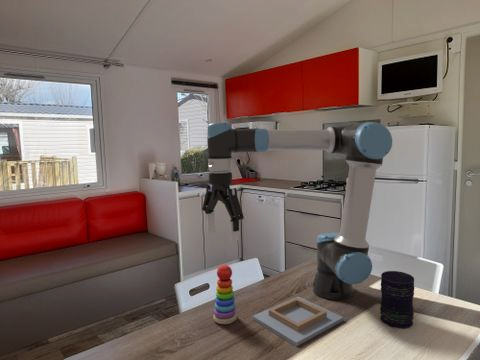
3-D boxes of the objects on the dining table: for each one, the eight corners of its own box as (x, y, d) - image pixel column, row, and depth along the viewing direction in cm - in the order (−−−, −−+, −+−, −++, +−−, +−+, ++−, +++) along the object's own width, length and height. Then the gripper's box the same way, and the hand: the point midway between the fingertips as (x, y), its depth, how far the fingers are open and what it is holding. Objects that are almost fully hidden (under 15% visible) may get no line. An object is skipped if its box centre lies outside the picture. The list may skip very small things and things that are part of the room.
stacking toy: (234, 326, 113) (232, 270, 110) (210, 324, 114) (208, 269, 112) (239, 314, 120) (237, 262, 118) (216, 312, 122) (214, 261, 120)
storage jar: (407, 332, 106) (408, 285, 104) (375, 321, 113) (376, 277, 111) (417, 319, 114) (418, 275, 112) (386, 310, 120) (387, 268, 118)
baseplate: (298, 299, 130) (298, 291, 130) (343, 320, 114) (343, 311, 114) (252, 319, 117) (252, 310, 116) (296, 346, 101) (296, 336, 101)
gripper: (190, 170, 119) (193, 230, 121) (233, 175, 99) (235, 247, 102) (209, 168, 123) (211, 227, 126) (254, 173, 104) (255, 242, 106)
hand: (222, 236), depth 114 cm, fingers open, 13 cm apart
